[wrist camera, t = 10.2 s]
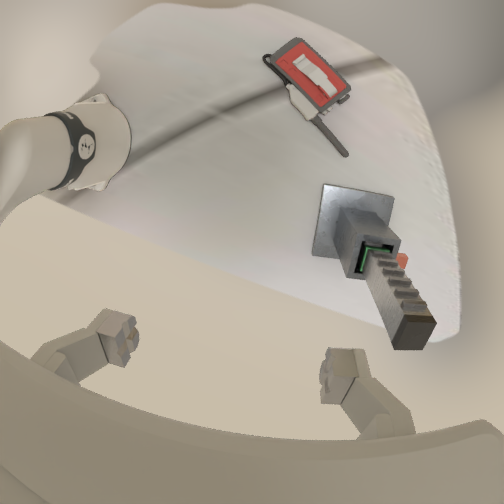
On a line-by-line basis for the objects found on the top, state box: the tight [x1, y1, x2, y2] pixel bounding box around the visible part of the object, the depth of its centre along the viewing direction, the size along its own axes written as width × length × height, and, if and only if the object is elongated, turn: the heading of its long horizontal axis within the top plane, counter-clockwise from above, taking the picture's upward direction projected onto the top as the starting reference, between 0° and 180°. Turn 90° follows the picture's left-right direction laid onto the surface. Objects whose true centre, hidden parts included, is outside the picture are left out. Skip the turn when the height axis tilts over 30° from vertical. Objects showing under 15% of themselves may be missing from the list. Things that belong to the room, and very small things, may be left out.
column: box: [357, 241, 437, 350], centre depth 28 cm, size 3×4×20 cm
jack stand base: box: [312, 184, 408, 280], centre depth 38 cm, size 12×12×13 cm
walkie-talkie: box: [263, 37, 351, 157], centre depth 34 cm, size 9×4×20 cm
